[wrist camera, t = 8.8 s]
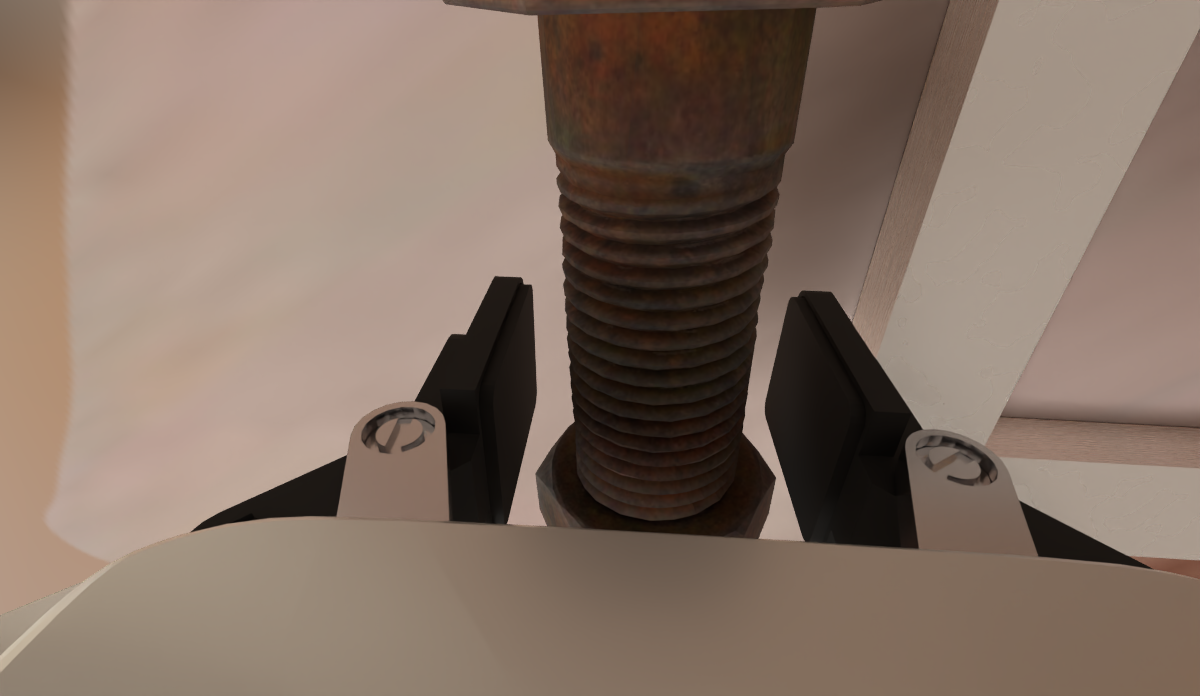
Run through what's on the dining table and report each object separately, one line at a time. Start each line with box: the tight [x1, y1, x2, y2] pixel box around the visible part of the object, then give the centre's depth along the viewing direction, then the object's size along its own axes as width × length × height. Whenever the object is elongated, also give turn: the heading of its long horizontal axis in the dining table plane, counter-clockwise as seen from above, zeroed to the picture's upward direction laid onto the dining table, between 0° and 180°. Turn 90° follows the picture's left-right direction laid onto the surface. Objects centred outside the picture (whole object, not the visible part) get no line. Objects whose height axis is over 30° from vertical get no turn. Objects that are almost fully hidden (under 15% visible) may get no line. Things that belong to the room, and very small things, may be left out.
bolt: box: [443, 0, 881, 539], centre depth 10 cm, size 6×5×15 cm
